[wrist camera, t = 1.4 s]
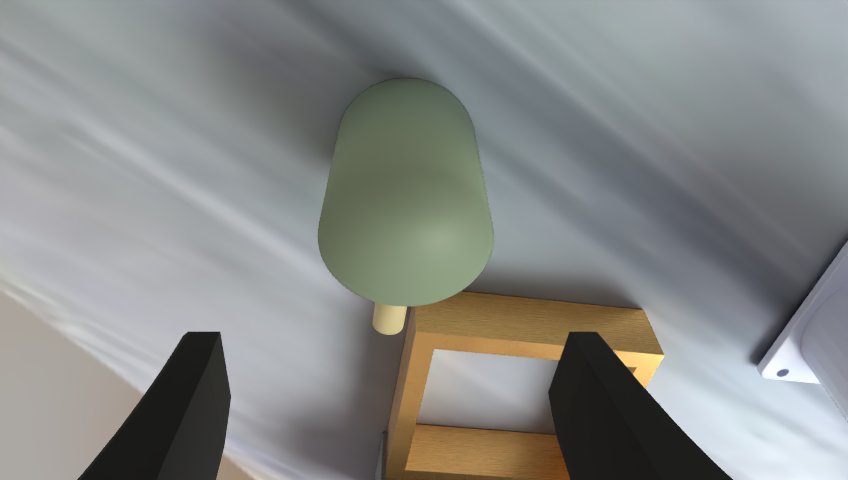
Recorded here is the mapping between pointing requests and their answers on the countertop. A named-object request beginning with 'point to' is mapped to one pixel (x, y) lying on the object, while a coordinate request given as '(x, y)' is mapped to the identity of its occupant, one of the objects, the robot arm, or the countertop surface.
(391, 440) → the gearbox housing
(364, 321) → the countertop surface
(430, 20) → the countertop surface
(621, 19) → the countertop surface
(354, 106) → the spout can
